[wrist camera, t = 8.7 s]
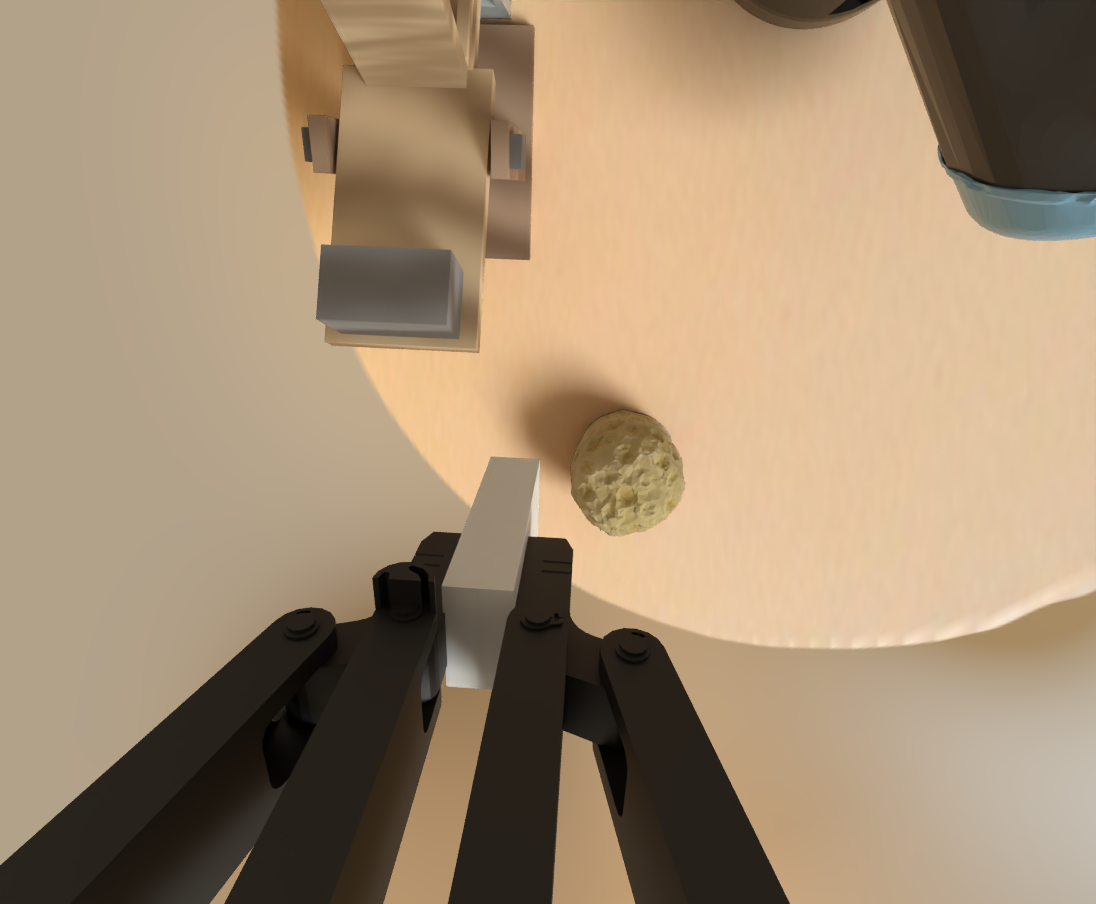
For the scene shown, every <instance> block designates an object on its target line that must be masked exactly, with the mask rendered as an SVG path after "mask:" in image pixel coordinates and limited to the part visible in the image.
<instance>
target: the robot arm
mask: <svg viewBox="0 0 1096 904" xmlns="http://www.w3.org/2000/svg"><path fill="white" fill-rule="evenodd" d="M735 1H736V2H737V3H738V4H739V5H740V6H742V7H743V8H744V9H745V10H747V11H748V12H749V13H751V14H752V15H754V16H756V17H757V18H759V19H761V20H763V21H766V22H768V23H770V24H774V25H777V26H781V27H785V28H792V29H813V28H821V27H825V26H830V25H833V24H836V23H839V22H842V21H845V20H847V19H849V18H851V17H854V16H856V15H858V14H859V13H861V12H863V11H865V10H866V9H868V8H869V7H871V6H872V5H874V4H875V3H877V2H878V1H880V0H735ZM886 1H887V3H888V6H889V9H890V11H891V14H892V17H893V20H894V22H895V25H896V28H897V31H898V33H899V36H900V39H901V42H902V44H903V47H904V50H905V53H906V55H907V58H908V61H909V64H910V66H911V69H912V72H913V75H914V77H915V80H916V83H917V86H918V88H919V91H920V94H921V96H922V99H923V102H924V105H925V107H926V110H927V113H928V116H929V118H930V121H931V124H932V127H933V129H934V132H935V135H936V138H937V140H938V143H939V145H938V157H939V160H940V163H941V166H942V167H943V168H945V170H946V173H947V174H948V175H949V176H950V177H951V178H952V179H953V180H954V183H955V185H956V187H957V189H958V192H959V194H960V196H961V199H962V201H963V203H964V206H965V208H966V210H967V212H968V213H969V215H970V216H971V217H972V218H973V219H974V220H975V221H976V222H977V223H978V224H979V225H980V226H982V227H984V228H985V229H987V230H989V231H991V232H994V233H996V234H999V235H1002V236H1005V237H1009V238H1015V239H1022V240H1033V241H1058V240H1074V239H1084V238H1091V237H1096V0H886ZM539 475H540V459H524V458H506V457H491V458H490V461H489V464H488V466H487V469H486V472H485V474H484V477H483V479H482V482H481V485H480V487H479V490H478V492H477V495H476V498H475V500H474V503H473V505H472V508H471V511H470V513H469V516H468V518H467V521H466V524H465V526H464V529H463V531H462V533H445V532H433V533H432V534H430V535H429V536H428V537H427V538H425V539H424V540H423V541H421V543H420V545H419V547H418V549H417V551H416V554H415V556H414V558H413V560H412V562H400V563H396V564H392V565H389V566H387V567H385V568H383V569H381V570H379V571H378V572H377V573H376V574H375V575H374V576H373V578H372V579H373V589H374V598H375V608H376V610H375V612H374V614H373V616H372V617H369V618H366V619H362V620H358V621H352V622H346V623H339V624H336V621H335V618H334V616H333V615H332V614H331V613H330V612H328V611H326V610H324V609H322V608H312V607H310V608H303V609H297V610H295V611H292V612H289V613H287V614H285V615H283V616H282V617H280V618H279V619H277V620H276V621H275V622H274V623H272V624H271V625H270V626H269V627H268V628H267V629H266V630H264V631H263V632H262V633H261V634H260V635H259V636H258V637H256V638H255V639H254V640H253V641H252V642H251V643H250V644H249V645H248V646H246V647H245V648H244V649H243V650H242V651H241V652H240V653H239V654H237V655H236V656H235V657H234V658H233V659H232V660H231V661H229V662H228V663H227V664H226V665H225V666H224V667H223V668H222V669H221V670H219V671H218V672H217V673H216V674H215V675H214V676H213V677H211V678H210V679H209V680H208V681H207V682H206V683H205V684H204V685H202V686H201V687H200V688H199V689H198V690H197V691H196V692H195V693H194V694H192V695H191V696H190V697H189V698H188V699H187V700H186V701H185V702H183V703H182V704H181V705H180V706H179V707H178V708H177V709H176V710H174V711H173V712H172V713H171V714H170V715H169V716H168V717H167V718H165V719H164V720H163V721H162V722H161V723H160V724H159V725H158V726H157V727H155V728H154V729H153V730H152V731H151V732H150V733H149V734H147V735H146V736H145V737H144V738H143V739H142V740H141V741H140V742H138V744H136V745H135V746H134V747H133V748H132V749H131V750H129V751H128V752H127V753H126V754H125V755H124V756H123V757H122V758H120V759H119V760H118V761H117V762H116V763H115V764H114V765H113V766H111V767H110V768H109V769H108V770H107V771H106V772H105V773H104V774H102V775H101V776H100V777H99V778H98V779H97V780H96V781H95V782H94V783H92V784H91V785H90V786H89V787H88V788H87V789H86V790H84V791H83V792H82V793H81V794H80V795H79V796H78V797H77V798H75V799H74V800H73V801H72V802H71V803H70V804H69V805H68V806H66V807H65V808H64V809H63V810H62V811H61V812H60V813H59V814H57V815H56V816H55V817H54V818H53V819H52V820H51V821H50V822H49V823H48V824H46V825H45V826H44V827H43V828H42V829H41V830H39V831H38V832H37V833H36V834H35V835H34V836H33V837H32V838H31V839H29V840H28V841H27V842H26V843H25V844H24V845H23V846H21V847H20V848H19V849H18V850H17V851H16V852H15V853H14V854H12V856H10V857H9V858H8V859H7V860H6V861H5V862H3V863H2V865H0V904H210V902H211V901H212V900H213V898H214V897H215V896H216V894H217V893H218V892H219V890H220V889H221V888H222V887H223V885H224V884H225V883H226V881H227V880H228V879H229V877H230V876H231V875H232V874H233V872H234V871H235V870H236V868H237V867H238V866H239V864H240V863H241V862H242V861H243V859H244V858H245V857H246V855H247V854H248V852H249V851H250V850H251V849H252V848H253V849H252V851H251V853H250V855H249V857H248V859H247V861H246V863H245V865H244V866H243V868H242V871H241V872H240V874H239V876H238V878H237V880H236V882H235V884H234V886H233V888H232V890H231V892H230V894H229V896H228V898H227V900H226V901H225V904H383V902H384V899H385V895H386V892H387V889H388V885H389V882H390V878H391V875H392V871H393V868H394V865H395V861H396V858H397V854H398V851H399V848H400V844H401V841H402V837H403V834H404V830H405V827H406V823H407V820H408V817H409V813H410V810H411V806H412V803H413V800H414V796H415V793H416V789H417V786H418V783H419V779H420V776H421V772H422V769H423V765H424V762H425V759H426V755H427V752H428V748H429V745H430V741H431V738H432V735H433V731H434V728H435V724H436V721H437V717H438V714H439V711H440V707H441V683H442V680H443V677H444V674H445V671H446V685H447V686H452V687H464V688H478V689H491V690H492V693H491V698H490V703H489V708H488V713H487V718H486V723H485V728H484V732H483V737H482V742H481V747H480V752H479V756H478V761H477V766H476V771H475V775H474V780H473V785H472V790H471V795H470V800H469V804H468V809H467V814H466V819H465V824H464V829H463V834H462V839H461V843H460V848H459V853H458V858H457V863H456V867H455V872H454V877H453V882H452V887H451V891H450V896H449V901H448V904H552V898H553V882H554V864H555V849H556V833H557V816H558V800H559V799H558V798H559V784H560V783H559V782H560V768H561V767H560V766H561V750H562V738H563V737H562V736H563V731H566V732H569V733H571V734H574V735H576V736H579V737H581V738H584V739H587V740H589V741H592V742H593V751H594V755H595V758H596V762H597V766H598V769H599V773H600V777H601V780H602V784H603V787H604V791H605V795H606V798H607V802H608V806H609V809H610V813H611V816H612V820H613V824H614V827H615V831H616V835H617V838H618V842H619V846H620V849H621V853H622V856H623V860H624V863H625V867H626V871H627V875H628V878H629V882H630V885H631V889H632V893H633V896H634V900H635V904H790V903H789V901H788V899H787V897H786V895H785V893H784V891H783V889H782V887H781V885H780V883H779V881H778V879H777V876H776V875H775V872H774V870H773V868H772V866H771V864H770V862H769V860H768V858H767V856H766V854H765V852H764V850H763V848H762V846H761V844H760V842H759V840H758V838H757V836H756V834H755V832H754V829H753V828H752V825H751V823H750V821H749V819H748V817H747V815H746V813H745V811H744V809H743V807H742V805H741V803H740V801H739V799H738V797H737V795H736V793H735V791H734V789H733V787H732V785H731V782H730V781H729V779H728V776H727V774H726V772H725V770H724V769H723V766H722V764H721V762H720V760H719V758H718V756H717V754H716V752H715V750H714V748H713V746H712V744H711V742H710V740H709V738H708V736H707V733H706V731H705V730H704V727H703V725H702V723H701V721H700V719H699V717H698V715H697V713H696V711H695V709H694V707H693V705H692V703H691V701H690V699H689V697H688V695H687V693H686V691H685V689H684V687H683V684H682V682H681V680H680V678H679V677H678V674H677V672H676V670H675V668H674V666H673V664H672V662H671V660H670V658H669V656H668V654H667V652H666V650H665V648H664V646H663V645H662V644H661V642H660V641H659V640H658V639H657V638H656V637H654V636H653V635H651V634H649V633H648V632H644V631H641V630H638V629H630V628H623V629H619V630H615V631H612V632H610V633H609V634H608V635H606V636H604V638H603V639H601V638H598V637H595V636H592V635H590V634H588V633H585V632H584V631H582V630H581V629H579V628H578V627H577V626H576V625H575V624H574V622H573V621H572V619H571V617H570V596H571V579H572V561H573V549H572V548H571V546H570V544H569V543H568V541H567V540H566V539H562V538H546V537H538V512H539ZM253 846H254V847H253Z"/></svg>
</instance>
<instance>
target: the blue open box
mask: <svg viewBox="0 0 1096 904" xmlns="http://www.w3.org/2000/svg"><path fill="white" fill-rule="evenodd" d="M480 18H483V19H511V0H481V14H480Z"/></svg>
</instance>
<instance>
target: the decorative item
mask: <svg viewBox="0 0 1096 904" xmlns="http://www.w3.org/2000/svg"><path fill="white" fill-rule="evenodd" d="M570 468H571V485H572V490H571V495H572V497H573V498H574V500H575V502H576V503H577V504H578V506H579V508H581V510H582V512H583V514H584V515H585V516H586V518H587V519H588V520H589V521H590V522H591V523H592V524H593V525H594V526H597V527H599V528H600V531H601V530H603V531H605V532H606V533H607V534H608V535H609V536H624V535H628V534H631V533H635V532H643V531H646V530H648V529H650V528H652V527H654V526H655V525H657V524H658V523H660V522H661V521H663V520H665V519H666V518H667V517H668V515H669V514H670V513H671V512H672V511H673V510H674V509H675V507H676V506H677V505H678V503H679V502H680V500H681V495H682V493H683V491H684V488H685V482H684V477H683V463H682V458H681V457H680V455H679V453H678V451H677V449H676V448H675V446H674V444H673V443H672V440H671V437H670V435H669V433H668V431H667V430H666V429H665V428H664V427H663V426H662V425H661V424H659V423H658V422H657V421H656V420H654V419H653V418H651V417H649V416H646V415H642V414H639V413H635V412H631V411H627V410H619V411H617V412H614V413H611V414H607V415H606V416H602V417H600V418H599V419H597V420H596V421H595V422H593V423H592V424H591V425H590V427H589V428H588V429H587V430H586V431H585V434H584V436H583V438H582V439H581V441H580V444H579V445H578V447H577V450H576V452H575V454H574V457H573V460H572V464H571V467H570Z"/></svg>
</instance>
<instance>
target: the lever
mask: <svg viewBox="0 0 1096 904" xmlns="http://www.w3.org/2000/svg"><path fill="white" fill-rule="evenodd" d="M320 1H321V3H322V5H323V7H324V8H325V10H326V12H327V14H328V16H329V18H330V19H331V21H332V23H333V25H334V27H335V29H336V30H337V32H338V34H339V36H340V38H341V39H342V41H343V43H344V45H345V47H346V49H347V50H348V52H349V54H350V56H351V58H352V60H353V61H354V63H355V65H356V66H353V65H343V78H342V93H341V108H340V122H339V137H338V152H337V166H336V181H335V196H334V210H333V225H332V240H331V245H321V255H320V269H319V284H318V299H317V313H316V314H317V315H316V319H317V320H319V321H320V322H322V323H324V324H326V328H325V342H327V343H329V344H331V345H332V346H350V347H370V348H391V349H411V350H432V351H452V352H473V353H479V348H480V332H481V316H482V299H483V283H484V267H485V250H486V234H487V218H488V201H489V185H490V169H491V120H494V103H495V87H496V81H495V76H494V71H493V69H477V62H478V46H479V30H480V14H481V0H320Z"/></svg>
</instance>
